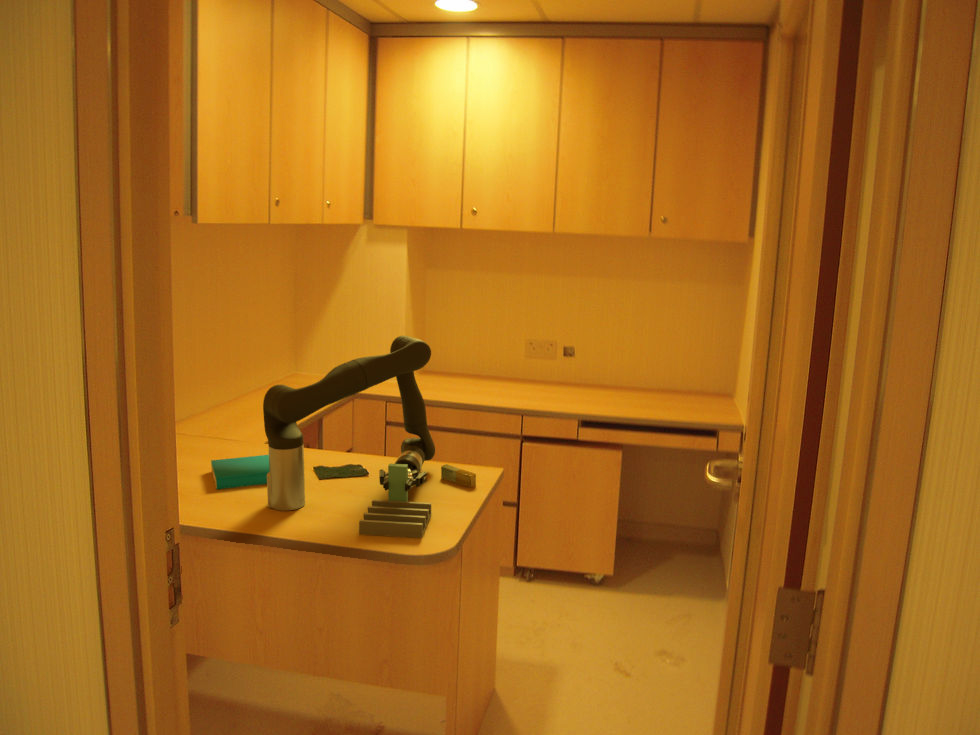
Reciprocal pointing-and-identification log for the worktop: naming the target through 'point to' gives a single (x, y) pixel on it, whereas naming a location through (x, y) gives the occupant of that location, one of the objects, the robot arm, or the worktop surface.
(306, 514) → the worktop surface
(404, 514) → the rack
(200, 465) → the worktop surface
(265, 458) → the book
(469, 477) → the medication box
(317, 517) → the worktop surface
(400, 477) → the card
